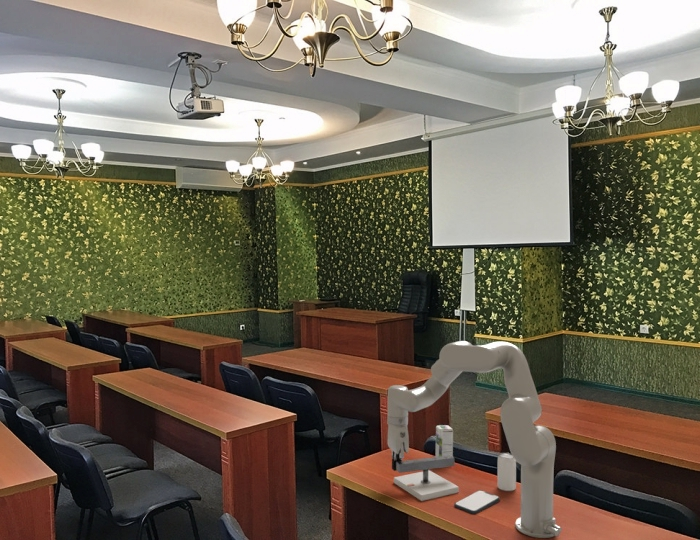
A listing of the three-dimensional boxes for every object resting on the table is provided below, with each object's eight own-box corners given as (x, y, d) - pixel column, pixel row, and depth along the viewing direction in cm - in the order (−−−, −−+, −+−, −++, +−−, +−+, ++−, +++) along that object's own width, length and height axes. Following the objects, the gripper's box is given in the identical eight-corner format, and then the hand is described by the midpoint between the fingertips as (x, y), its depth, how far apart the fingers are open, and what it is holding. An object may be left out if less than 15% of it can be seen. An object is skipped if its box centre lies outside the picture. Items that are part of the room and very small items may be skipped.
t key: (450, 476, 211) (450, 455, 211) (454, 479, 209) (454, 457, 208) (396, 483, 204) (396, 461, 204) (399, 486, 202) (399, 464, 201)
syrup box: (434, 460, 235) (435, 425, 235) (448, 459, 236) (448, 424, 236) (439, 464, 229) (439, 429, 229) (453, 464, 230) (453, 428, 230)
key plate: (458, 492, 202) (458, 486, 202) (421, 501, 195) (421, 494, 195) (429, 475, 218) (429, 469, 218) (393, 482, 211) (393, 476, 211)
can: (513, 484, 209) (514, 452, 209) (517, 492, 203) (517, 458, 202) (496, 484, 210) (496, 452, 210) (498, 491, 203) (499, 458, 203)
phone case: (474, 516, 184) (501, 501, 195) (474, 511, 184) (501, 496, 195) (452, 508, 191) (479, 493, 202) (452, 503, 191) (479, 489, 202)
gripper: (415, 425, 200) (414, 476, 201) (399, 413, 215) (398, 461, 215) (395, 426, 198) (394, 478, 199) (380, 415, 212) (379, 463, 213)
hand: (396, 469), depth 207 cm, fingers closed
